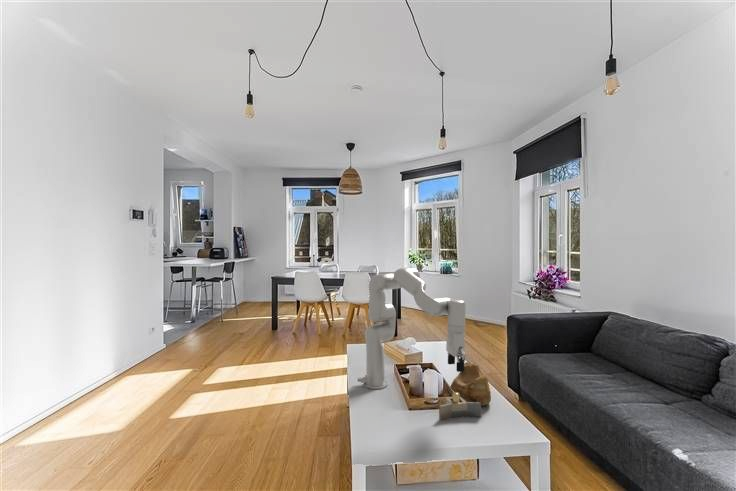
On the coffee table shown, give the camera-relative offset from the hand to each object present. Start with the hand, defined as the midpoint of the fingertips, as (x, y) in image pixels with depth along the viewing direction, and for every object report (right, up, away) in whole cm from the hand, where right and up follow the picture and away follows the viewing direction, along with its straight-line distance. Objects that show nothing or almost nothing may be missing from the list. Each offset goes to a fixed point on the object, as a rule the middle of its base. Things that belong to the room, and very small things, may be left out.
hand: (455, 367), depth 167 cm
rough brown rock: (+10, -21, +17) cm, 28 cm away
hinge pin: (0, -20, 0) cm, 20 cm away
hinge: (0, -20, 0) cm, 20 cm away
